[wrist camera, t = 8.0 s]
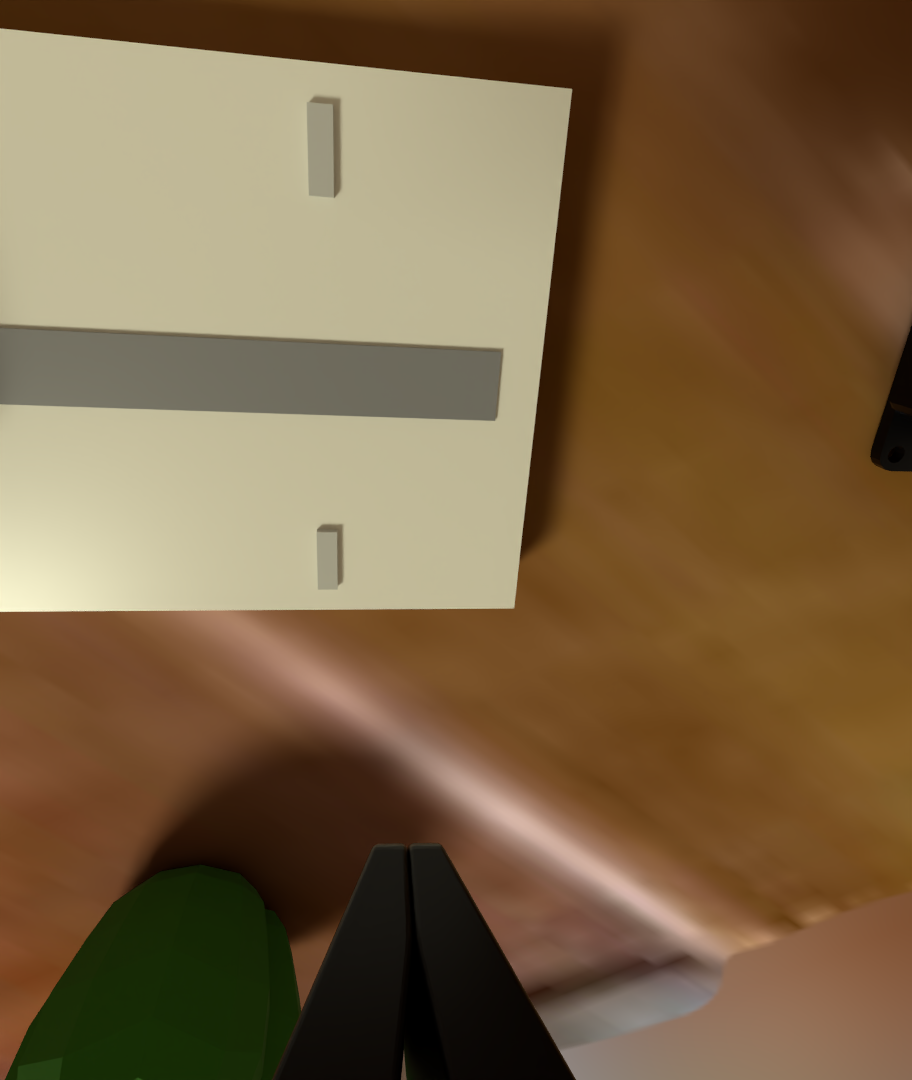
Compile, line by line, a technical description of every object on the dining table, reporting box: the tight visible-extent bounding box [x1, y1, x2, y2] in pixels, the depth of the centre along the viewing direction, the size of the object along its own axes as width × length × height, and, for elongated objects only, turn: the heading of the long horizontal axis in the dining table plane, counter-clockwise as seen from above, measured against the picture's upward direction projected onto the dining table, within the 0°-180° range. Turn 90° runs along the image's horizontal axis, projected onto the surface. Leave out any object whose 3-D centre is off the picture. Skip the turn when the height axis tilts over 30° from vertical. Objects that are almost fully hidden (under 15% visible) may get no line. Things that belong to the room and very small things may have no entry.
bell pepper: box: [5, 865, 301, 1080], centre depth 20 cm, size 8×8×10 cm
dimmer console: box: [0, 28, 572, 612], centre depth 15 cm, size 22×12×2 cm, turn 86°
